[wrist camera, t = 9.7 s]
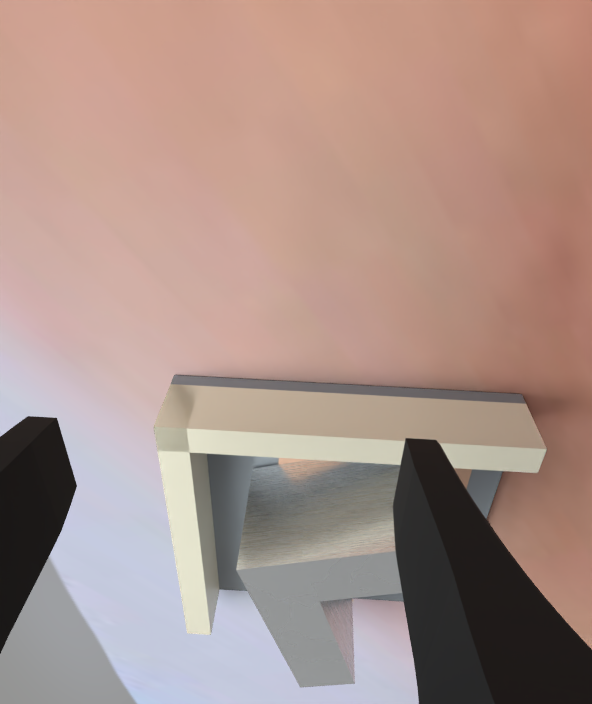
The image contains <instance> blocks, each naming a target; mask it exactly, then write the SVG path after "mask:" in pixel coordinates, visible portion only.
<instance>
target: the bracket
mask: <svg viewBox="0 0 592 704" xmlns="http://www.w3.org/2000/svg"><path fill="white" fill-rule="evenodd" d="M399 470H400V465H392V464H375V463H359V462H342V461H325V460H304V461H298V462H291V463H285V464H278V465H272V466H266V467H259V468H253V470H252V476H251V482H250V488H249V494H248V500H247V506H246V513H245V519H244V525H243V531H242V537H241V543H240V549H239V555H238V561H237V568H236V571H237V573H238V574H239V576H240V578H241V580H242V582H243V583H244V585H245V587H246V589H247V591H248V593H249V594H250V596H251V598H252V600H253V602H254V604H255V605H256V607H257V609H258V611H259V613H260V615H261V616H262V618H263V620H264V622H265V624H266V625H267V627H268V629H269V631H270V633H271V635H272V636H273V638H274V640H275V642H276V644H277V646H278V647H279V649H280V651H281V653H282V655H283V656H284V658H285V660H286V662H287V664H288V666H289V667H290V669H291V671H292V673H293V675H294V677H295V678H296V680H297V682H298V684H299V686H300V687H313V686H327V685H341V684H355V676H354V644H353V613H352V598H358V597H368V596H377V595H387V594H397V593H402V588H401V582H400V576H399V571H398V565H397V558H396V551H395V536H394V518H393V502H394V496H395V491H396V486H397V481H398V476H399Z"/></svg>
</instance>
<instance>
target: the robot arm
mask: <svg viewBox="0 0 592 704" xmlns="http://www.w3.org/2000/svg"><path fill="white" fill-rule="evenodd" d="M76 487H77V485H76V481H75V478H74V475H73V471H72V468H71V465H70V461H69V458H68V454H67V451H66V448H65V444H64V441H63V437H62V434H61V431H60V427H59V424H58V420H57V418H48V417H30V416H28V417H27V418H25V419H24V420H22V421H21V422H19V423H18V424H17V425H15V426H14V427H13V428H11V429H10V430H9V431H7V432H6V433H5V434H4V435H2V436H1V437H0V653H1V651H2V649H3V647H4V645H5V642H6V640H7V638H8V636H9V634H10V631H11V630H12V628H13V626H14V624H15V622H16V620H17V618H18V616H19V614H20V612H21V610H22V608H23V606H24V604H25V602H26V600H27V598H28V596H29V594H30V592H31V590H32V588H33V586H34V585H35V583H36V580H37V579H38V577H39V575H40V573H41V571H42V569H43V566H44V565H45V563H46V560H47V559H48V557H49V555H50V553H51V551H52V549H53V547H54V545H55V543H56V541H57V539H58V536H59V534H60V532H61V530H62V527H63V524H64V522H65V519H66V516H67V514H68V511H69V508H70V505H71V502H72V499H73V496H74V493H75V490H76ZM393 518H394V536H395V551H396V558H397V565H398V571H399V576H400V582H401V588H402V594H403V600H404V606H405V611H406V617H407V623H408V629H409V635H410V640H411V646H412V652H413V658H414V664H415V671H416V679H417V686H418V696H419V704H592V650H591V648H590V647H589V646H588V645H587V644H586V643H585V642H584V641H583V640H582V639H581V638H580V636H579V635H578V634H577V633H576V632H575V631H574V630H573V629H572V628H571V627H570V626H569V624H568V623H567V622H566V621H565V620H564V619H563V618H562V616H561V615H560V614H559V613H558V612H557V611H556V610H555V608H554V607H553V606H552V605H551V604H550V603H549V601H548V600H547V599H546V598H545V597H544V596H543V594H542V593H541V592H540V591H539V589H538V588H537V587H536V586H535V585H534V583H533V582H532V581H531V580H530V578H529V577H528V576H527V575H526V573H525V572H524V571H523V569H522V568H521V567H520V565H519V564H518V563H517V561H516V560H515V559H514V558H513V556H512V555H511V554H510V552H509V551H508V550H507V548H506V547H505V545H504V544H503V543H502V541H501V540H500V539H499V537H498V536H497V534H496V533H495V531H494V530H493V528H492V527H491V526H490V524H489V523H488V521H487V520H486V518H485V517H484V515H483V514H482V512H481V511H480V509H479V508H478V507H477V505H476V503H475V502H474V500H473V499H472V497H471V496H470V494H469V493H468V491H467V489H466V488H465V486H464V484H463V483H462V481H461V480H460V478H459V476H458V475H457V473H456V471H455V470H454V468H453V466H452V465H451V463H450V461H449V459H448V458H447V456H446V454H445V452H444V450H443V449H442V447H441V445H440V444H439V443H438V441H437V440H431V439H414V438H406V439H405V444H404V449H403V455H402V460H401V465H400V470H399V476H398V481H397V486H396V491H395V496H394V502H393Z"/></svg>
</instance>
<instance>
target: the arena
mask: <svg viewBox="0 0 592 704" xmlns="http://www.w3.org/2000/svg"><path fill="white" fill-rule="evenodd" d="M154 432H155V438H156V444H157V451H158V457H159V463H160V469H161V475H162V481H163V487H164V493H165V500H166V506H167V512H168V518H169V524H170V530H171V536H172V542H173V549H174V555H175V561H176V567H177V573H178V579H179V585H180V591H181V598H182V604H183V610H184V616H185V622H186V628H187V633H191V634H205V635H211V632H212V626H213V621H214V616H215V610H216V605H217V599H218V594H219V589H224V590H239V591H247V589H246V587H245V585H244V583H243V582H242V580H241V578H240V576H239V574H238V573H237V571H236V568H237V561H238V555H239V549H240V543H241V537H242V531H243V525H244V519H245V513H246V506H247V500H248V494H249V488H250V482H251V476H252V470H253V468H259V467H266V466H272V465H278V464H285V463H291V462H298V461H304V460H325V461H342V462H359V463H375V464H392V465H401V460H402V455H403V449H404V444H405V439H406V438H414V439H431V440H437V441H438V443H439V444H440V445H441V447H442V449H443V450H444V452H445V454H446V456H447V458H448V459H449V461H450V463H451V465H452V466H453V468H454V470H455V471H456V473H457V475H458V476H459V478H460V480H461V481H462V483H463V484H464V486H465V488H466V489H467V491H468V493H469V494H470V496H471V497H472V499H473V500H474V502H475V503H476V505H477V507H478V508H479V509H480V511H481V512H482V514H483V515H484V517H485V518H486V519H487V516H488V513H489V510H490V507H491V504H492V501H493V498H494V495H495V493H496V490H497V487H498V484H499V481H500V478H501V475H502V472H503V471H511V472H528V473H538V471H539V468H540V466H541V463H542V461H543V458H544V456H545V453H546V451H547V448H546V446H545V444H544V442H543V439H542V437H541V435H540V433H539V431H538V428H537V426H536V424H535V422H534V420H533V418H532V415H531V413H530V411H529V409H528V407H527V405H526V402H525V400H524V398H523V396H522V394H511V393H492V392H474V391H456V390H438V389H419V388H401V387H383V386H364V385H346V384H328V383H310V382H291V381H273V380H255V379H237V378H218V377H200V376H182V375H174V377H173V379H172V382H171V384H170V387H169V389H168V392H167V394H166V397H165V399H164V402H163V404H162V407H161V409H160V412H159V414H158V417H157V419H156V422H155V424H154ZM358 599H373V600H388V601H403V602H404V600H403V594H402V593H397V594H387V595H377V596H368V597H358Z"/></svg>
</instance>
